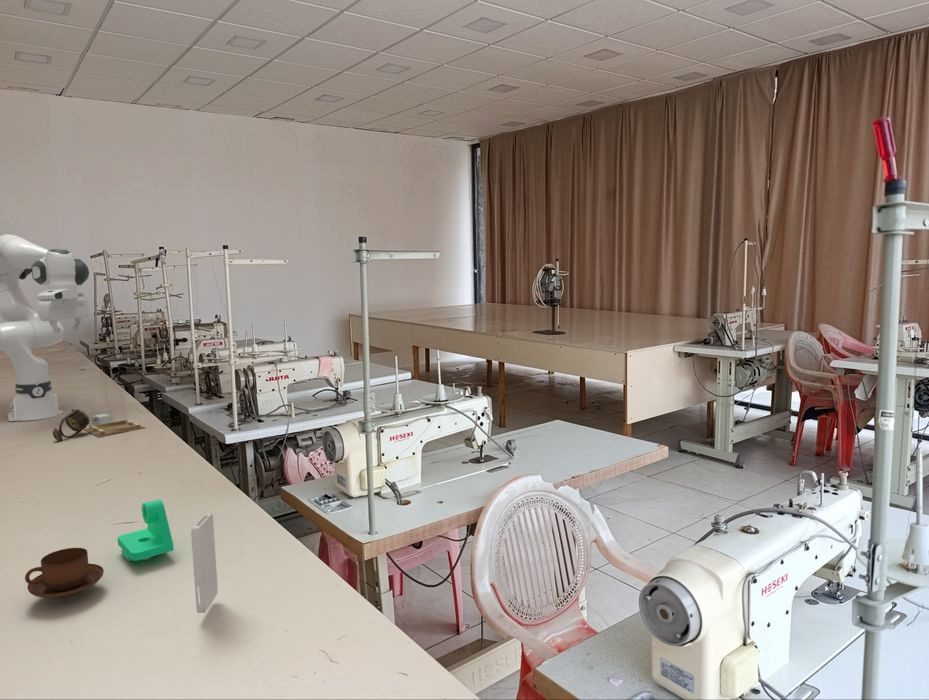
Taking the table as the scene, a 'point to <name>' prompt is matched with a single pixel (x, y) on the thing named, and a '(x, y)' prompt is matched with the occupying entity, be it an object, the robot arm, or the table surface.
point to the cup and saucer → (64, 574)
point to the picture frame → (113, 428)
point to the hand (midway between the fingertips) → (67, 331)
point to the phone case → (204, 562)
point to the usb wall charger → (101, 419)
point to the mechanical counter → (72, 423)
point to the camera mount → (148, 534)
